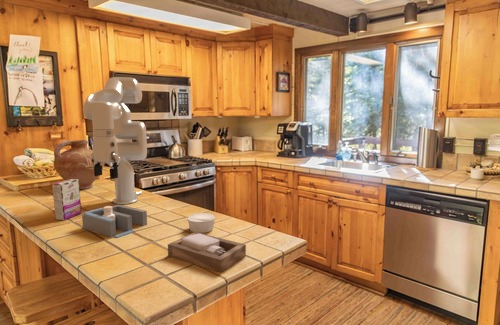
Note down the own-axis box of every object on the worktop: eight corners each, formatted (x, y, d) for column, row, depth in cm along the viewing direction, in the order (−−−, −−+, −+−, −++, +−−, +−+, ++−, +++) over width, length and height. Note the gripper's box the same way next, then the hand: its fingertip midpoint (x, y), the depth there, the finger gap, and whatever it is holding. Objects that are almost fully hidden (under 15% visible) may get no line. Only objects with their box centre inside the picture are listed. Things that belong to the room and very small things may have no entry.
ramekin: (189, 235, 131) (188, 222, 130) (186, 226, 142) (186, 214, 141) (217, 233, 134) (217, 220, 133) (212, 223, 145) (212, 212, 144)
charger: (213, 263, 104) (180, 251, 113) (232, 256, 111) (200, 245, 120) (214, 249, 104) (181, 237, 112) (233, 242, 111) (201, 232, 120)
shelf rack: (119, 217, 152) (118, 203, 151) (151, 225, 141) (150, 210, 140) (82, 228, 137) (81, 213, 136) (115, 238, 126) (114, 222, 125)
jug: (113, 188, 209) (111, 140, 204) (64, 195, 189) (60, 142, 184) (95, 181, 228) (92, 137, 224) (48, 187, 208) (44, 139, 203)
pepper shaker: (111, 227, 139) (109, 205, 137) (116, 229, 137) (115, 206, 135) (101, 229, 136) (100, 207, 134) (107, 232, 133) (105, 209, 132)
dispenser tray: (195, 242, 124) (195, 231, 123) (245, 255, 113) (245, 244, 112) (168, 255, 112) (167, 244, 112) (221, 272, 101) (221, 260, 100)
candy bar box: (72, 212, 158) (70, 178, 155) (81, 213, 157) (79, 179, 155) (54, 220, 147) (51, 183, 145) (64, 220, 146) (61, 184, 144)
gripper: (126, 134, 129) (128, 177, 132) (98, 132, 138) (101, 173, 140) (109, 135, 122) (112, 181, 125) (81, 133, 131) (84, 176, 134)
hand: (106, 176), depth 133 cm, fingers open, 9 cm apart
